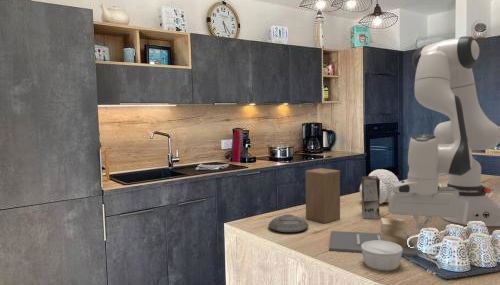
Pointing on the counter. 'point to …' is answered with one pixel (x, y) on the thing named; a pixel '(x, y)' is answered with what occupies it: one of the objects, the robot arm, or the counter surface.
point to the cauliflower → (383, 183)
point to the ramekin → (381, 254)
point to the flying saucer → (288, 223)
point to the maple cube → (394, 231)
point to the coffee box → (370, 197)
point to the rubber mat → (360, 242)
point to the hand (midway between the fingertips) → (422, 229)
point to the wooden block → (323, 195)
